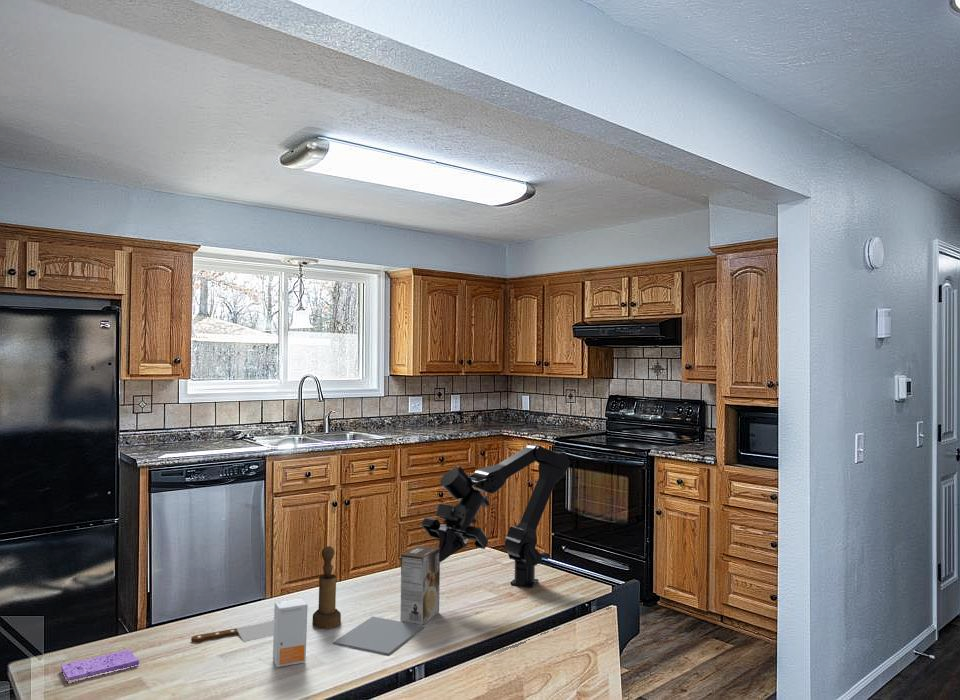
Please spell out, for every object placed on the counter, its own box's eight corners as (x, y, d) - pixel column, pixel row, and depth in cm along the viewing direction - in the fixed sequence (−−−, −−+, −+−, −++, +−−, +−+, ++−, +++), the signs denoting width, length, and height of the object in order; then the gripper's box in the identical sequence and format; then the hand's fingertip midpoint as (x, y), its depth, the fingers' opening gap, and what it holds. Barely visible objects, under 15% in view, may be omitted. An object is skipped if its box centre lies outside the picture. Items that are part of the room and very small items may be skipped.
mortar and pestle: (346, 621, 161) (347, 545, 162) (329, 631, 155) (331, 552, 156) (323, 616, 164) (325, 542, 164) (306, 625, 158) (308, 548, 159)
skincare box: (276, 668, 136) (277, 608, 136) (272, 660, 140) (273, 601, 140) (306, 662, 139) (308, 604, 139) (302, 654, 143) (303, 597, 143)
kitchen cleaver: (197, 651, 142) (189, 632, 151) (196, 656, 143) (189, 636, 151) (310, 630, 155) (297, 613, 164) (310, 634, 155) (297, 617, 164)
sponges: (60, 673, 134) (60, 664, 134) (130, 656, 142) (130, 647, 142) (67, 687, 128) (67, 677, 128) (139, 668, 136) (139, 659, 136)
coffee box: (416, 608, 170) (418, 544, 171) (439, 612, 168) (441, 547, 168) (399, 621, 162) (400, 554, 162) (423, 625, 159) (424, 557, 160)
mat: (372, 618, 164) (372, 616, 164) (424, 627, 158) (424, 625, 158) (332, 643, 148) (333, 641, 148) (388, 655, 143) (388, 653, 143)
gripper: (426, 486, 181) (396, 536, 172) (482, 496, 169) (453, 549, 160) (445, 511, 187) (417, 560, 178) (499, 522, 175) (473, 575, 166)
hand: (438, 561), depth 170 cm, fingers closed
